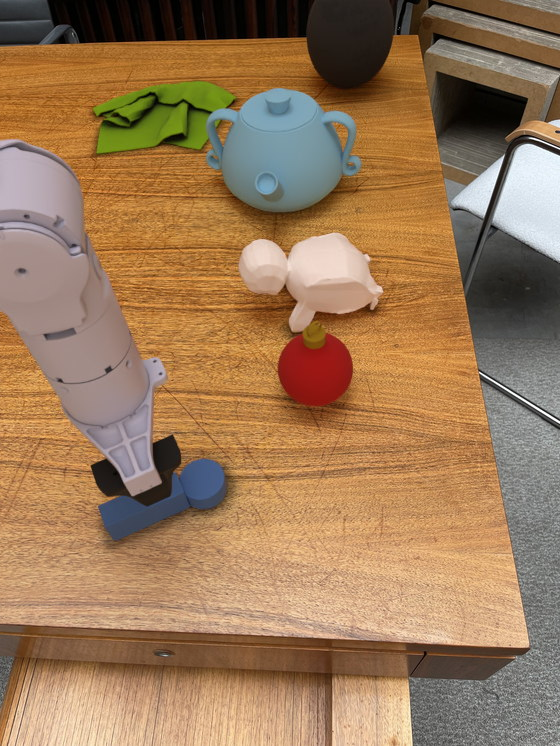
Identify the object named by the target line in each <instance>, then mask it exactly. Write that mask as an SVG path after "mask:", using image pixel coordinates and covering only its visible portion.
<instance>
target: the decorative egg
mask: <svg viewBox="0 0 560 746" xmlns="http://www.w3.org/2000/svg"><path fill="white" fill-rule="evenodd" d="M306 23H307V24H306V32H305V33H306V35H305V36H306V37H305V39H306V47H307V52H308V55H309V60H310V62H311V64H312V66H313V68H314V70H315V72H316V73H317V74H318V75H319V77H320V78H321V79H322V80H323V81H325V82H326V83H327V84H329V85H331V86H332V87H335V88H338V89H343V90H350V89H351V90H352V89H356V88H360V87H362V86H364V85H366V84H367V83H368V82H370V81H371V80H373V79H374V78H375V77H376V76H377V75H378V73H380V71H381V70H382V68H383V67H384V65H385V63H386V61H387V59H388V58H389V54H390V52H391V49H392V46H393V40H394V35H395V33H394V32H395V21H394V13H393V7H392V4H391V1H390V0H314V1H313V3H312V6H311V8H310V10H309V14H308V18H307V22H306Z"/></svg>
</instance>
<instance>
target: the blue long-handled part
mask: <svg viewBox="0 0 560 746" xmlns="http://www.w3.org/2000/svg"><path fill="white" fill-rule="evenodd" d="M227 492H228V481H227V478H226V474H225V471H224V469H223V467H222V466H221V465H220V463H218V462H217V461H215V460H213V459H211V458H199V459H195V460H192V461H191V462H189V463H187V464H186V465H185V466H184V468H183V469H182V470H181V471H180V474H179V475H178V472H176V471H174V473H173V475H172V493H171V496H170V497H168V498H166V499H163V500H161V501H159V502H157V503H155V504H152V505H150V506H148V507H147V506H145V505H143V504H141V503H139V502H137V501H136V500H134V499H132V498H130V497H128V496H116V497H115V498H112V499H110V500H108V501H105V502H103V503H101V504H99V505H97V508H98V511H99V514H100V518H101V520H102V523H103V528H104V529H105V530H106V532H107V533H108V534H109V536H110V538H111V539H112V541H114V542H117V541H119V540H121V539H124V538H126V537H128V536H130V535H132V534H135V533H137V532H139V531H141V530H143V529H146V528H148V527H150V526H152V525H155V524H157V523H160V522H161V521H163V520H166V519H169V518H170V517H172V516H175V515H178V514H179V513H181V512H184V511H186V510H188V509H190V508H191V507H192V508H194V509H197V510H210V509H213V508H215V507H217V506H218V505H219V504H221V503H222V502H223V500H224V499H225V497H226V496H227Z"/></svg>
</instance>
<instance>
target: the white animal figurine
mask: <svg viewBox="0 0 560 746" xmlns="http://www.w3.org/2000/svg"><path fill="white" fill-rule="evenodd" d="M371 261H372V260H371V257H370V256H369V254H368V253H365V254H364V253H362V252H361V251H360V250H359V249H358V248H357V247H356V246H355V245H353V244H352V243H351V242H350V240H349V239H348V238H347V237H346V236H345V235H344V234H342V233H340V232H330V233H327V234H323V235H319V236H316V235H314V236H310V237H308V238H306V239H303V240H302V241H298V242H297V243H295V244H294V245H293V246H292V248H291V249H290V251H289V253H288V256H287V255H286V253H285V252H284V251H283V250H282V248H281V247H280V246H279V245H278V244H277V243H275V242H274V241H272V240H269V239H265V238H259V239H256V240H252V241H251V242H250V243H249V244H247V245H246V246H244V248H243V249H242V251H241V254H240V256H239V259H238V272H239V273H238V274H239V276H240V278H241V281H242V282H243V283H244V285H245V286H246V288H247V289H248V290H249V291H250V292H252V293H254V294H259V295H260V294H261V295H262V294H268V295H271V296H275V295H277V294H278V293H279V292H280V291H281V290H282V289H283V288H284V286H285V287H286V290H287V291H288V293H289V295H291V297H292V298H293V299H294V300H295V301H296V305H295V306H294V308H293V310H292V311H291V314H290V316H289V319H288V322H287V323H288V324H289V328H290V330H291V332H292V333H301V332H302V333H303V330H304V329H305V328H306V327H307V326H309V325H310V324H311V323H312V322H313V319H314V317H315V314H316V312H322V313H330V314H337V315H341V314H342V315H344V314H348V313H351V312H352V313H353V312H356V311H357V310H360V309H362V308H365V307H366V306H368V305H369V309H370V310H371V311H372V310H373V311H374V309H375V308H376V306H377V305H378V302H379V298H380V297H381V296H382V295H383V294H384V289H383V287H382V286H381V285H378V283H376V281H375V279H374V277H373V276H372V275H371V270H370V269H371V268H370V267H369V264H370V263H371Z"/></svg>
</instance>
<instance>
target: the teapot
mask: <svg viewBox="0 0 560 746" xmlns="http://www.w3.org/2000/svg"><path fill="white" fill-rule="evenodd" d="M217 120H221V121H228V122H232V123H231V125H230V127H229V130H228V132H227V134H226V136H225V140H224V144H223V142H222V141H221V138H220V137H219V134H218V131H217V128H215V121H217ZM333 123H337V124H340V125H341V126H344V127H345V128H346V129H347V139H346V142H345V146H344V148H343V146H342V142H341V139H340V137H339V134H338V132H337V130H336V127H335V126H334V124H333ZM206 131H207V135H208V138H209V139H208V141H209V143H210V145H211V148H210V149H209V150H208V151H207V153H206V155H205V162H206V164H207V166H208V167H210V168H211V169H213V170H216V171H221V174H222V179H223V182H224V184H225V187H226V188H227V189H228V190H229V192H230V193H231V194H232V195H233V196H235V197H236V198H237V199H238V200H239V201H241V202H243V203H245V204H246V205H248V206H250V207H252V208H254V209H256V210H259V211H260V210H261V211H264V212H268V213H292V212H298V211H301V210H305V209H307V208H311V207H312V206H314V205H316V204H317V203H319V202H320V201H322V200H323V199H325V198H326V197H327V196H329V194H330V193H331V192H332V191H333V190H334V189H336V187H337V186H338V184H339V183H340V181H341V179H342V177H343V175H344V176H346V177H353V176H355V175H357V174H359V173H360V171H361V170H362V160H361V158H360V157H359V156H357V155H351V153H352V151H353V148H354V146H355V143H356V138H357V125H356V122H355V120H354V119H353V117H352V116H351V115H350V114H348V113H346V112H344V111H339V110H329V111H326V112H325V111H324V110H323V108H322V107H321V105H320V104H319V103H318V102H317V101H316V100H315V99H314V98H313V97H312V96H310V95H308V94H307V93H304V92H302V91H298V90H294V89H287V88H284V87H275V88H271V89H268V90H267V91H263V92H260V93H258V94H255V95H253V96H252V97H250V98H249V99H248V100H247V101H245V103H243V104H242V106H241V107H240V108H239V110H238V111H236V110H234V109H231V108H227V107H226V108H223V109H218V110H216V111H214V112H213V113H212V114H211V115H210V116H209V117H208V119H207V122H206ZM216 157H217V158H216ZM349 163H351V164H353V165H350V164H349Z"/></svg>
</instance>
